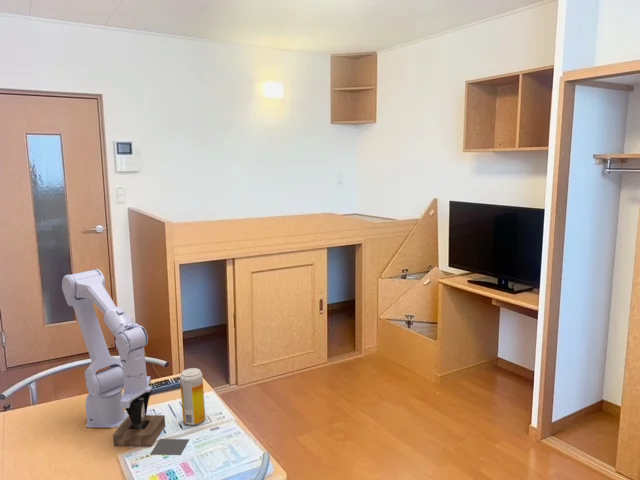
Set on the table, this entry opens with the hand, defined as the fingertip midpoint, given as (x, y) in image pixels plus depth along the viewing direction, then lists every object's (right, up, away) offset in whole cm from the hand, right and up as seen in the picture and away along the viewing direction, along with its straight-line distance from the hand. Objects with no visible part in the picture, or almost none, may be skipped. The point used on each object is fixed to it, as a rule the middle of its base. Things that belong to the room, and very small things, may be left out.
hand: (139, 419), depth 133 cm
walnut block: (0, -5, +1) cm, 5 cm away
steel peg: (0, -3, +1) cm, 3 cm away
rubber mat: (+10, -6, -5) cm, 12 cm away
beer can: (+13, -4, +8) cm, 16 cm away
